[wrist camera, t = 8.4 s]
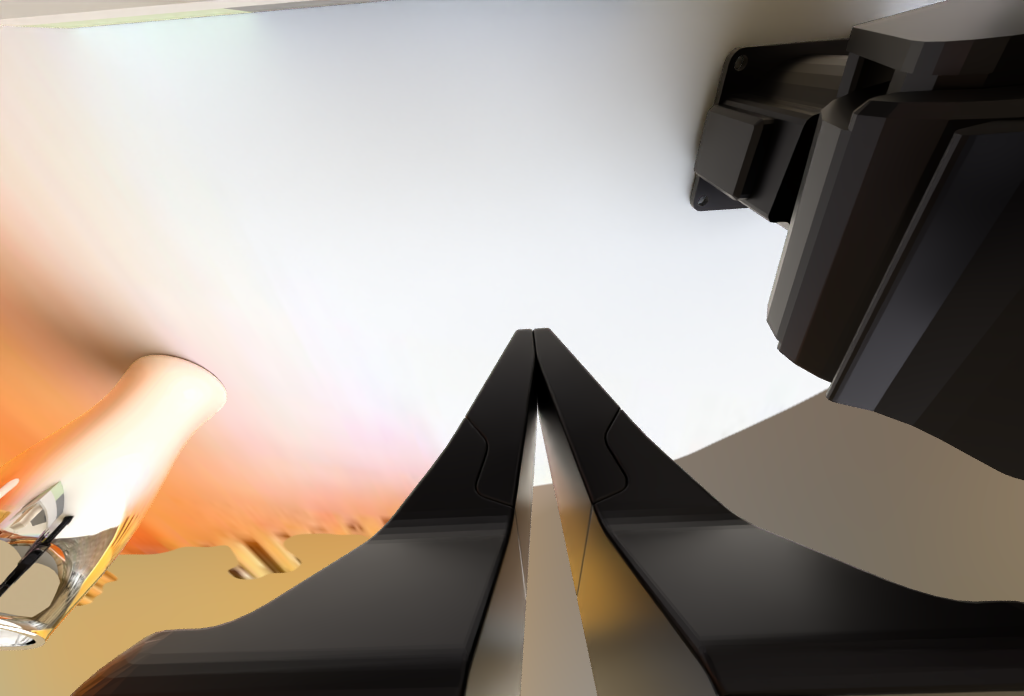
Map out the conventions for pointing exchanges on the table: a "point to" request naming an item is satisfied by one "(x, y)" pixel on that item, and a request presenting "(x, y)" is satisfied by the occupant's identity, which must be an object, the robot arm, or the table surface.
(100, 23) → the trap deck
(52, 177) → the table surface
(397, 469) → the table surface
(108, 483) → the beer glass
